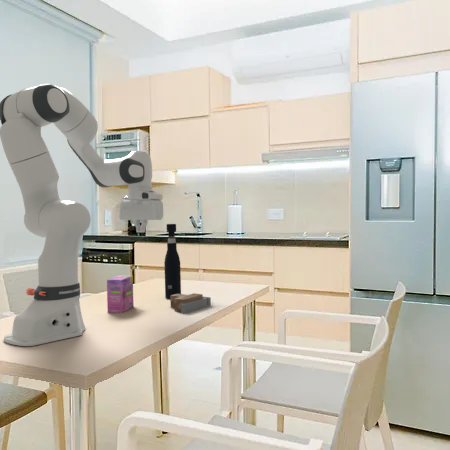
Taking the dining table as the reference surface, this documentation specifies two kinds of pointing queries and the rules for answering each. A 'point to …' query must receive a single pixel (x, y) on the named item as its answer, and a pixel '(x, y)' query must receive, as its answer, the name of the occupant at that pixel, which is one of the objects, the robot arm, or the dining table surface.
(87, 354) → the dining table surface
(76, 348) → the dining table surface
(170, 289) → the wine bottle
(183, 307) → the corner fence
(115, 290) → the box
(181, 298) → the t block
